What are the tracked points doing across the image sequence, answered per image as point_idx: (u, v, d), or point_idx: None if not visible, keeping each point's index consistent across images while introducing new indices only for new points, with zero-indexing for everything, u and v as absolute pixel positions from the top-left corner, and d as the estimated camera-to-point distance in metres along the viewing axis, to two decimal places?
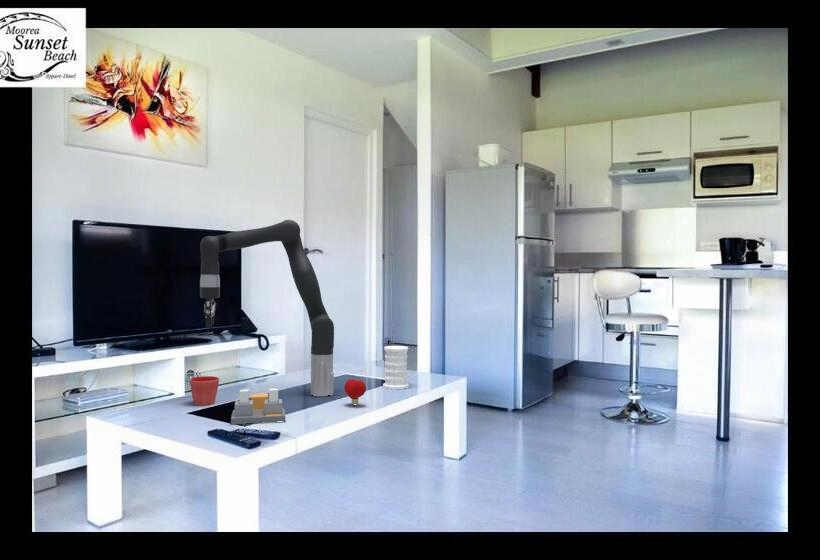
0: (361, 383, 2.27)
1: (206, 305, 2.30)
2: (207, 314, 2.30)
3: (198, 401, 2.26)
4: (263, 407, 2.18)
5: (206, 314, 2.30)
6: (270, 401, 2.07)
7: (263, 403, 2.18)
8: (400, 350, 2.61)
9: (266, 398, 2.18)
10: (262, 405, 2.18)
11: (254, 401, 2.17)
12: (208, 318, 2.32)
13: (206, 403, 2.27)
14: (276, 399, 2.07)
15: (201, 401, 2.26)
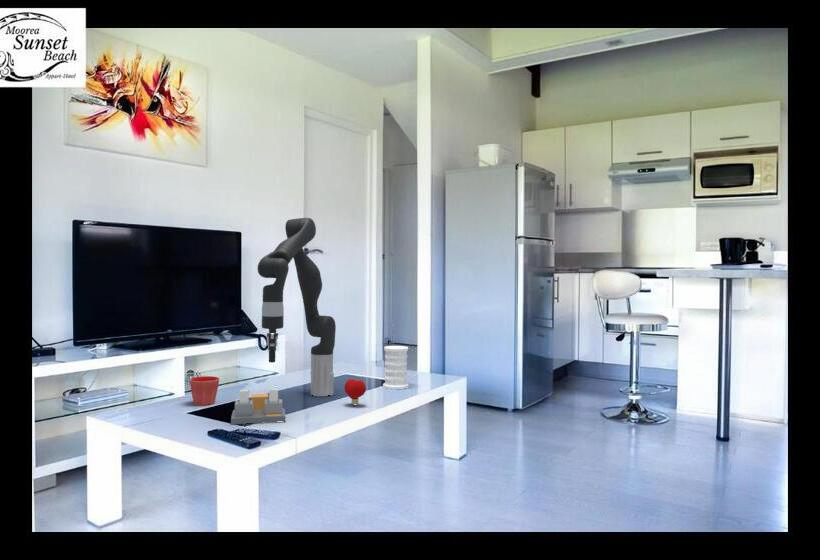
0: (361, 383, 2.27)
1: (270, 337, 2.02)
2: (271, 348, 2.02)
3: (198, 401, 2.26)
4: (263, 407, 2.18)
5: (270, 348, 2.01)
6: (270, 401, 2.07)
7: (263, 403, 2.18)
8: (400, 350, 2.61)
9: (266, 398, 2.18)
10: (262, 405, 2.18)
11: (254, 401, 2.17)
12: (272, 352, 2.03)
13: (206, 403, 2.27)
14: (276, 399, 2.07)
15: (201, 401, 2.26)
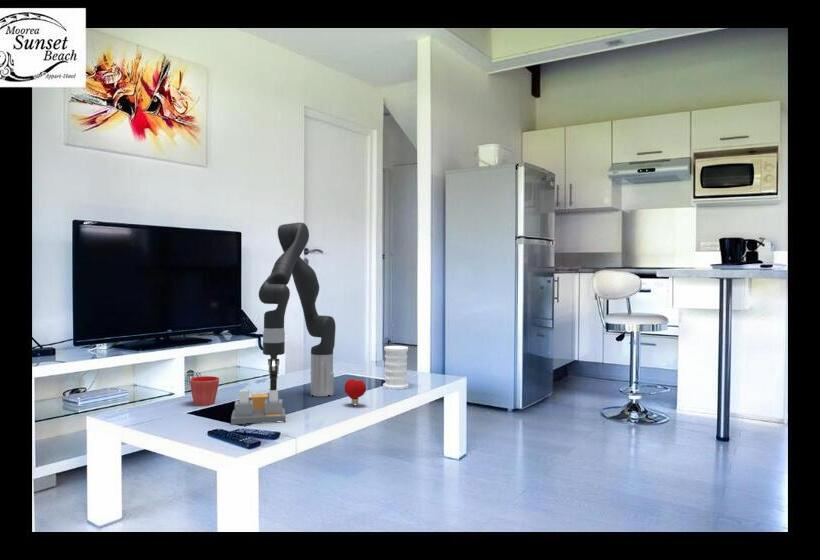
0: (361, 383, 2.27)
1: (272, 370, 2.03)
2: (272, 376, 2.05)
3: (198, 401, 2.26)
4: (263, 407, 2.18)
5: (271, 377, 2.05)
6: (270, 401, 2.07)
7: (263, 403, 2.18)
8: (400, 350, 2.61)
9: (266, 398, 2.18)
10: (262, 405, 2.18)
11: (254, 401, 2.17)
12: (273, 380, 2.07)
13: (206, 403, 2.27)
14: (276, 399, 2.07)
15: (201, 401, 2.26)
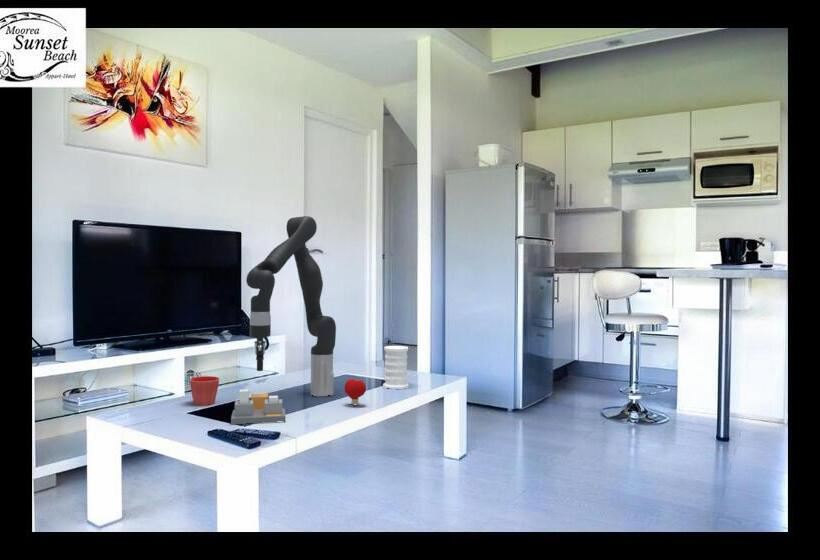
0: (361, 383, 2.27)
1: (258, 349, 2.14)
2: (259, 357, 2.15)
3: (198, 401, 2.26)
4: (263, 407, 2.18)
5: (258, 358, 2.15)
6: None
7: (263, 403, 2.18)
8: (400, 350, 2.61)
9: (266, 398, 2.18)
10: (262, 405, 2.18)
11: (254, 401, 2.17)
12: (259, 361, 2.17)
13: (206, 403, 2.27)
14: None
15: (201, 401, 2.26)
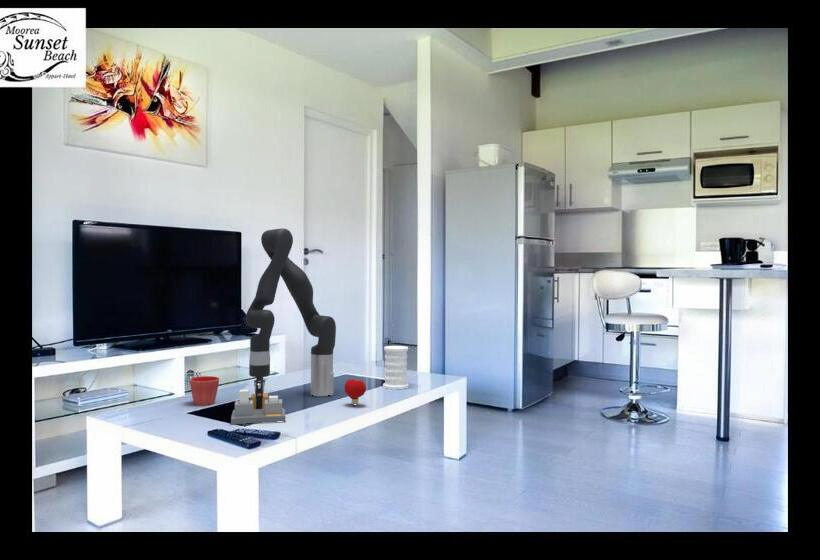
0: (361, 383, 2.27)
1: (257, 387, 2.14)
2: (258, 397, 2.14)
3: (198, 401, 2.26)
4: (263, 407, 2.18)
5: (257, 397, 2.14)
6: None
7: (263, 403, 2.18)
8: (400, 350, 2.61)
9: (266, 398, 2.18)
10: (262, 405, 2.18)
11: (254, 401, 2.17)
12: (259, 400, 2.16)
13: (206, 403, 2.27)
14: None
15: (201, 401, 2.26)
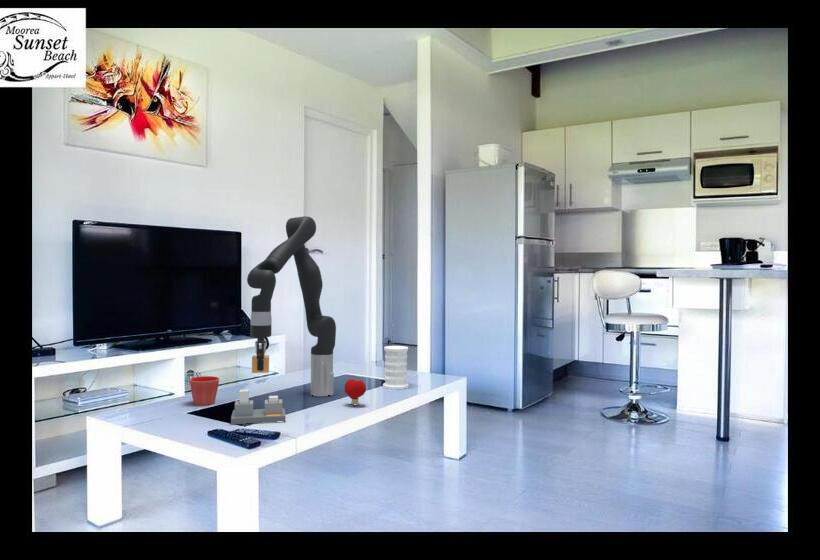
0: (361, 383, 2.27)
1: (258, 347, 2.12)
2: (259, 357, 2.12)
3: (198, 401, 2.26)
4: (264, 368, 2.16)
5: (258, 357, 2.12)
6: None
7: (265, 363, 2.16)
8: (400, 350, 2.61)
9: (267, 359, 2.16)
10: None
11: (255, 362, 2.15)
12: (260, 361, 2.14)
13: (206, 403, 2.27)
14: None
15: (201, 401, 2.26)
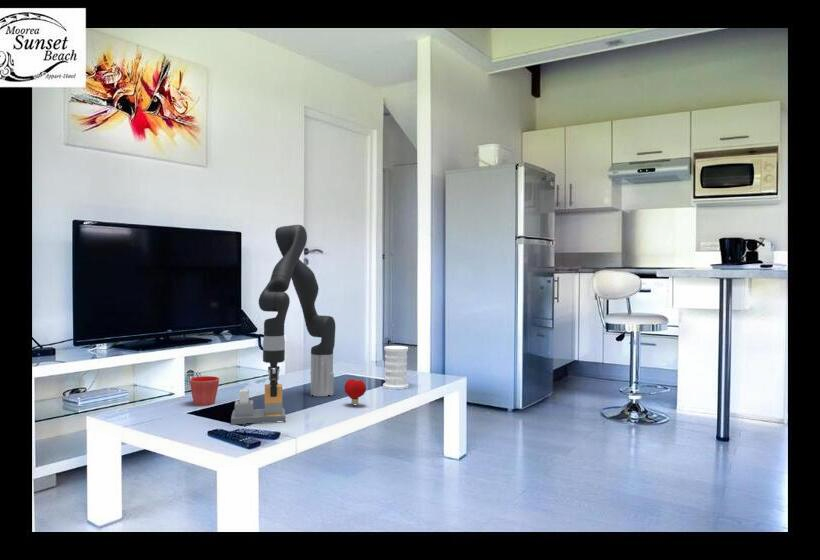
0: (361, 383, 2.27)
1: (272, 372, 2.02)
2: (273, 383, 2.02)
3: (198, 401, 2.26)
4: (277, 398, 2.06)
5: (272, 383, 2.02)
6: None
7: (278, 393, 2.06)
8: (400, 350, 2.61)
9: (281, 388, 2.06)
10: (276, 396, 2.06)
11: (268, 392, 2.05)
12: (273, 387, 2.03)
13: (206, 403, 2.27)
14: None
15: (201, 401, 2.26)
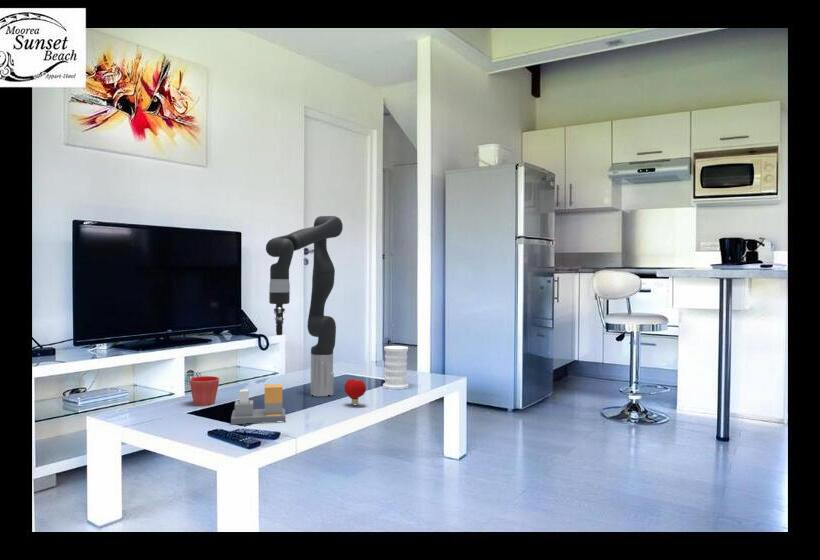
0: (361, 383, 2.27)
1: (278, 311, 2.17)
2: (278, 321, 2.17)
3: (198, 401, 2.26)
4: (277, 398, 2.06)
5: (277, 321, 2.17)
6: None
7: (278, 393, 2.06)
8: (400, 350, 2.61)
9: (281, 388, 2.06)
10: (276, 396, 2.06)
11: (268, 392, 2.05)
12: (279, 325, 2.19)
13: (206, 403, 2.27)
14: None
15: (201, 401, 2.26)
